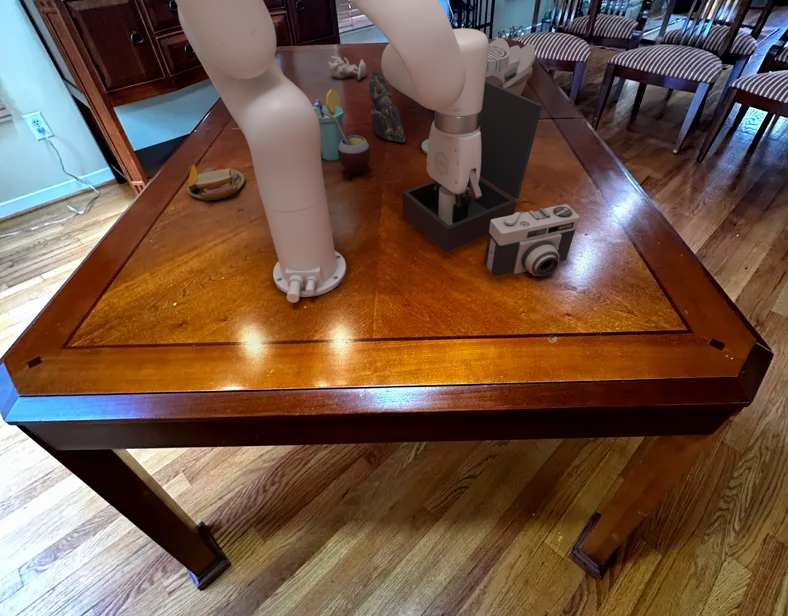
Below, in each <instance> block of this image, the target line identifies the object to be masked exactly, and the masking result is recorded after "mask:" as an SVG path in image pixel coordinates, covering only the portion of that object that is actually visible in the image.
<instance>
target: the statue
mask: <svg viewBox="0 0 788 616" xmlns="http://www.w3.org/2000/svg"><path fill="white" fill-rule="evenodd" d="M368 77H369V97H370V100H371V102H372V105H371V107H370V108H371V109H370V110H371V111H370V118H371V121H372V125H373V129H374V131H375V134H376V135H377V136H378V137H379V138H381V139H383V140H385V141H392V142H396V143H397V142H398V143H404V142H405V141H406V134H405V132H404V128H403V125H402V120H401V116H400V113H399V109H398V107H397V106H396V105H394V103H393V102H392V100H391V98H392V97H393V92H391V90H390V88H389V86H388V83H387V82H386V79H384V75H383V72H382V70H380V69H379V70H375V71H371V72H369V76H368Z"/></svg>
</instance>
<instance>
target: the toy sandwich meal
mask: <svg viewBox="0 0 788 616" xmlns="http://www.w3.org/2000/svg"><path fill="white" fill-rule="evenodd" d="M188 178H189V179H188V183H187V184H186V187H185V189H186V192H187V193H188V195H190V196H191V197H194V198H195V199H198V200H202V201H217V200H223V199H226V198H228V197H231V196H233V195H234V194H236V193H237V192H239V191H240V190H241V189H242V187H243V185H244V183H245V180H246V179H245V175H244V174H243V173H242V172H241V171H239V170H236V169H232V168H230V167H224V166H219V167H206V168H205V169H203V170H202V171H201V173H199V172H198V170H197V167H196V165H195V164H193V165H191V167H190V171H189V177H188Z"/></svg>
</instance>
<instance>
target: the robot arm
mask: <svg viewBox="0 0 788 616" xmlns="http://www.w3.org/2000/svg"><path fill="white" fill-rule="evenodd" d="M174 2H175V3H176V5H177V15H178V20H179V24H180V26H181V29H182V30H183V33H184V35H185V37H186V40H187V41H188V43H189V45H190V46H191V48H192V50H193V51H194V53H195V55H196V57H197V59H198V60H199V62H200V63H201V65H202V67H203V69H204V71H205V72H206V74H207V76H208V77H209V78H208V79H210V81H211V83H212V85H213V87H214V88H215V90H216V92H217V93H218V95H219V97H220V99H221V100H222V102H223V104H224V106H225V108H226V109H227V110H228V113H229V114H230V116H231V117H232V118H233V120H234V121H235V123H236V125H237V126H238V128H239V129H240V131H241V132H242V133H243V134H242V135H244V138H245V140H246V142H247V145H248V148H249V151H250V155H251V160H252V165H253V171H254V176H255V180H256V184H257V189H258V192H259V196H260V199H261V200H260V201H261V202H262V205H263V209H264V213H265V216H266V220H267V224H268V228H269V231H270V234H271V239H272V243H273V245H274V246H273V247H274V250H275V253H276V257H277V260H278V261H277V262H276V263H275V265H274V267H273V270H272V276H273V277H272V278H273V281H274V283H275V285H276V287H277V288H278V289H279V290H280V291H281V292H283V293H285V294H286V297H285V298H286V300H287V301H288V302H289V303H298V301H300V298H312V297H316V296H320V295H323V294H327V293H329V292H331V291H332V290H334V289H335V288H337V287H338V286H339V285H340V284H341V283H342V280H343V278H344V276H345V275H346V272H347V263H346V260H345V258H344V256H343V255H342V254H341V253H340V252H339V251H337V250H335V243H334V238H333V237H334V236H333V231H332V225H331V218H330V211H329V206H328V199H327V193H326V186H325V181H324V180H325V179H324V175H323V174H324V173H323V167H322V166H323V165H322V153H321V131H320V124H319V120H318V116H317V114H316V111H315V109H314V107H313V105H314V104H313V103H312V102H311V100H310V99H309V98H308V96H307V95H306V94H305V93H304V92H303V91H302V90H301V89H300V88H299V87H298V86H297V85H296V84H295V83H293V81H291V79H289V78H288V77H287V76H285V74H284V73H283V71H282V69H281V67H280V64H279V62H278V60H277V58H276V52H277V34H276V29H275V28H276V27H275V24H274V22H273V19H272V17H271V14H270V12H269V10H268V8H267V6H266V4H265V2H264V0H174ZM349 2H350V3H351V4H352V5H353V7H355V8H356V9H357V10H358V11H359V12H360V13H361V14H362V15H364V16H365V17H366V18H367V19H368V20H369V21H370V22H371V23H372V24H373V25H374V26H375V27H376V28H377V29H378V30H379V31H380V32H381V34H382V35H383V36H384V37H385V38H386V40H387V41H388V44H387V45H386V46H385V48H384V49H383V52H382V54H381V59H380V69H381V72H382V75H383V78H385V81H387V83H388V84H389V85H390V86H392V87H393V88H394V89H396V90H397V91H398V92H400V93H401V94H403V95H405V96H406V97H408V98H410V99H412V100H413V101H414V102H416V103H417V104H419V105H421V106H422V107H424V108H425V109H428V110H432V111H434V115H433V116H434V118H433V121H432V123H431V126H430V131H429V135H428V139H429V142H428V152H427V154H426V173H427V174H428V176H429V177H430V178H431V179H432V181H434V189H435V190H437V191H435V209H436V210H438V206H439V188H440V186H441V185H442V186H444V187H445V188H447V189H448V190H449V191H451V192H452V193H454V194H455V200H456V204H454V205H453V216H452V223H456V222H458V221H461V220H463V219H466V218H467V217H468V208H469V203H470V202H472V201H473V200H476V199H479V198H481V197H482V194H481V191H480V188H479V185H478V183H479V178H481V177H480V170H481V132H480V131H479V130H480V122H481V113H482V103H483V94H484V85H485V76H486V67H487V57H488V46H489V44H490V42H489V39H488V35H486V33H484V32H483V31H481V30H478V29H475V28H466V27H465V28H462V27H461V28H453V27H452V24H451V22H450V20H449V18H448V16H447V13H446V12H445V10H444V8H443V6H442V5H441V3H440V1H439V0H349ZM464 191H465V196H464V197H463V198H462V196H461V193H462V192H464Z"/></svg>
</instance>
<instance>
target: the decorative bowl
mask: <svg viewBox="0 0 788 616" xmlns="http://www.w3.org/2000/svg"><path fill="white" fill-rule="evenodd" d="M535 50H536V49H535V45H534V43H529V44H526V45H524V46H522V47H520V45H517V44H516V45H513V46H511V47H510V45H509V44H508V42H507V41H506V39H504V38H502V37H499V38H496V39H494V40H493V41H491V42H489V46H488V57H487V67H486V76H485V80H486V81H488V82H491V83H493V84H495V85H498V86H500V87H502V88H505V89H507V90H509V91H511V92H514V93H516V94H518V95H521V96H522V93H523V91H524V90H525V87H526V85H527V81H528V80H529V79H530V78H532V76H533V75H532V74H533V64H534V63H535V61H536V56H537V54H535V52H536V51H535Z"/></svg>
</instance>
